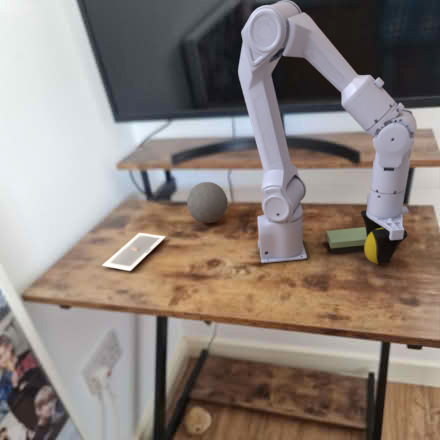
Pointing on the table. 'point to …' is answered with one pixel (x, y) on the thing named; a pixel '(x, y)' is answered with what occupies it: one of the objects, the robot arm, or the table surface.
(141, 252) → the touchpad
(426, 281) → the table surface
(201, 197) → the decorative ball
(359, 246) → the green block
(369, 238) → the lemon
